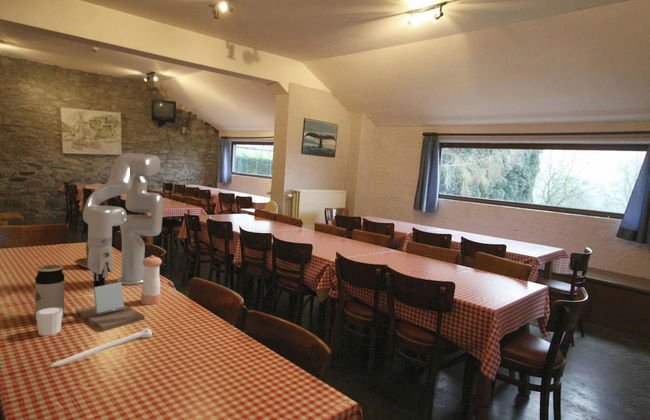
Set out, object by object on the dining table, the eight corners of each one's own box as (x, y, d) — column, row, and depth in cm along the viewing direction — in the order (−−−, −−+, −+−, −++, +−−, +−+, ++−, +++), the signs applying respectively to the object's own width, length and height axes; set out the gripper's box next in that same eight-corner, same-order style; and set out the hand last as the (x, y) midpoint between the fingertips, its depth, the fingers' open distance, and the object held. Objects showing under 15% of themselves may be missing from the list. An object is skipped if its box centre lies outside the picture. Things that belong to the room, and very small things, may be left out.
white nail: (55, 373, 94) (55, 362, 94) (48, 367, 96) (48, 357, 96) (154, 337, 118) (154, 328, 118) (147, 333, 120) (147, 325, 120)
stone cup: (112, 267, 190) (112, 239, 188) (86, 271, 180) (87, 241, 179) (98, 261, 198) (99, 235, 197) (73, 265, 189) (74, 237, 187)
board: (76, 314, 130) (76, 310, 129) (116, 304, 141) (116, 301, 141) (102, 331, 118) (102, 327, 118) (144, 319, 130) (144, 315, 130)
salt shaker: (164, 300, 149) (166, 255, 147) (149, 305, 143) (151, 258, 141) (152, 297, 152) (153, 252, 150) (136, 302, 146) (138, 255, 144)
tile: (93, 287, 127) (94, 287, 126) (119, 282, 134) (121, 282, 133) (96, 316, 126) (97, 316, 125) (122, 309, 134) (124, 309, 133)
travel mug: (61, 311, 131) (62, 263, 129) (65, 318, 125) (66, 268, 124) (33, 316, 125) (33, 266, 124) (36, 324, 120) (37, 271, 118)
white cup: (67, 330, 118) (68, 309, 117) (45, 338, 111) (45, 316, 110) (53, 325, 120) (53, 305, 119) (30, 333, 113) (30, 312, 113)
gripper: (120, 244, 131) (119, 293, 133) (101, 237, 140) (100, 283, 141) (98, 246, 125) (97, 297, 127) (79, 239, 133) (78, 287, 135)
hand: (99, 290), depth 134 cm, fingers closed
